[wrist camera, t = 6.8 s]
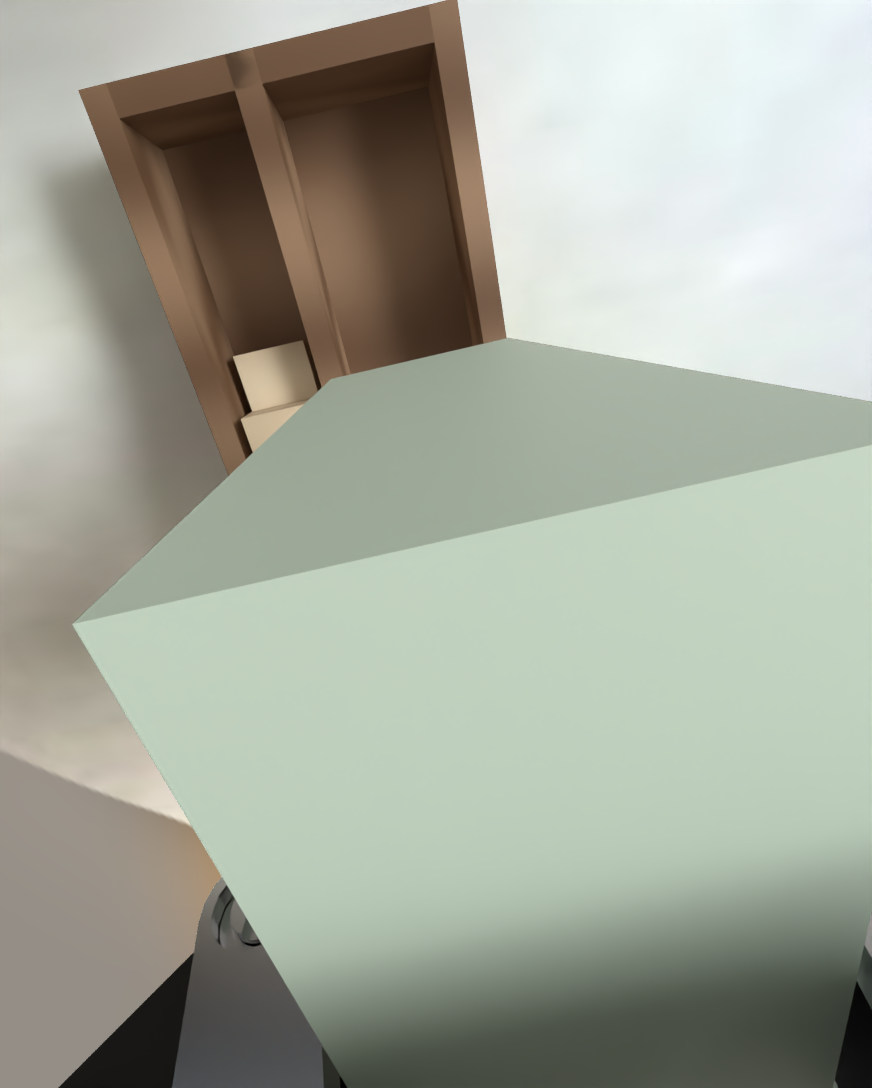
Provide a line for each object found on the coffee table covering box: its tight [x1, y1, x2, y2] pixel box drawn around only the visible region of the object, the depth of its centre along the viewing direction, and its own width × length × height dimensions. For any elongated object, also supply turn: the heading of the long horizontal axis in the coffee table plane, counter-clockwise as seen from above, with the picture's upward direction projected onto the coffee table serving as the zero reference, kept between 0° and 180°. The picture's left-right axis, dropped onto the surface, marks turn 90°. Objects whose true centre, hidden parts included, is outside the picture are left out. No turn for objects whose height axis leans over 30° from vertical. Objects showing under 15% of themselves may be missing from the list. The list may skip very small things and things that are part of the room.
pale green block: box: [72, 338, 872, 1088], centre depth 9 cm, size 11×4×10 cm, turn 12°
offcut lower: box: [233, 339, 322, 412], centre depth 21 cm, size 9×3×2 cm, turn 12°
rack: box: [79, 0, 506, 475], centre depth 22 cm, size 28×11×4 cm, turn 12°
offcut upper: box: [241, 398, 310, 452], centre depth 20 cm, size 7×3×2 cm, turn 12°
